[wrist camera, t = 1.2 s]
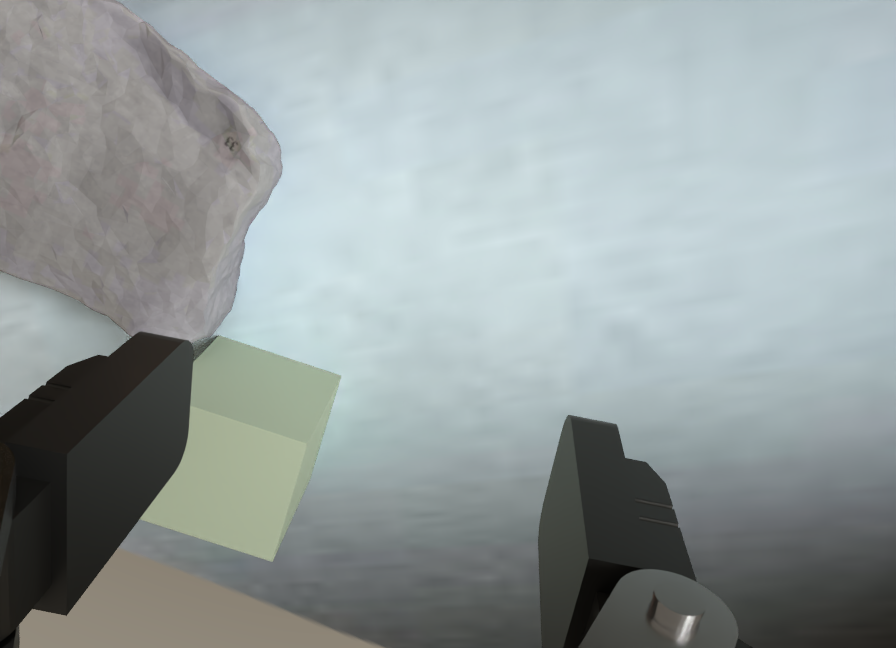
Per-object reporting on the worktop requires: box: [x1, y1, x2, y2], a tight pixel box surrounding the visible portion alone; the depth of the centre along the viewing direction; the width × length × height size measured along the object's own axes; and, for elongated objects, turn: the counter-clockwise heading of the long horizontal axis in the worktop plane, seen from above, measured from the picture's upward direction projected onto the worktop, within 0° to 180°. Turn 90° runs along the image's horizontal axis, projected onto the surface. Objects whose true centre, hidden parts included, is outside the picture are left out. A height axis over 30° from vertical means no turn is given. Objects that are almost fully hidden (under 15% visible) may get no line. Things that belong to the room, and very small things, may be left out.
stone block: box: [0, 0, 282, 343], centre depth 28 cm, size 12×5×10 cm
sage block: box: [140, 336, 341, 562], centre depth 30 cm, size 5×5×6 cm
